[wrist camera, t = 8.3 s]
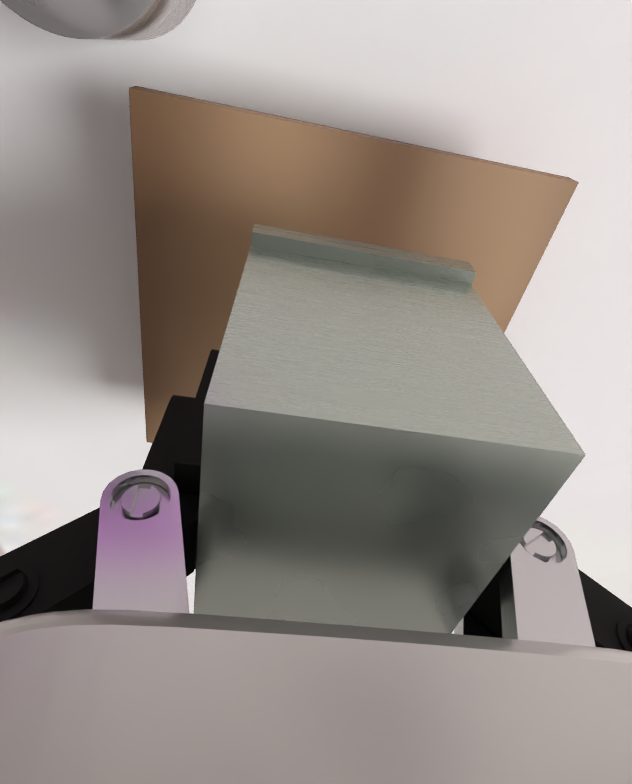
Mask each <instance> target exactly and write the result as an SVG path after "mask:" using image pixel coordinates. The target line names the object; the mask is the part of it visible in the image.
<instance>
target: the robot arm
mask: <svg viewBox="0 0 632 784" xmlns="http://www.w3.org/2000/svg"><path fill="white" fill-rule="evenodd" d="M219 351H220V350H214V349H211V351H210V354H209V357H208V360H207V363H206V366H205V369H204V373H203V376H202V379H201V382H200V385H199V388H198V391H197V394H196V397H195V398H193V397H186V396H179V395H173V396H172V397H171V399H170V401H169V403H168V406H167V408H166V411H165V413H164V416H163V418H162V421H161V423H160V426H159V428H158V431H157V434H156V436H155V439H154V441H153V444H152V446H151V449H150V451H149V454H148V456H147V459H146V461H145V464H144V466H143V469H142V470H135V471H130V472H127V473H125V474H123V475H120V476H118V477H117V478H115V479H114V480H113V481H112V482H110V483H109V484H108V486H107V487H106V488H105V490H104V491H103V494H102V497H101V501H100V508H98V509H96V510H94V511H92V512H90V513H88V514H86V515H84V516H82V517H80V518H78V519H76V520H74V521H71V522H69V523H67V524H65V525H63V526H61V527H59V528H57V529H55V530H53V531H51V532H49V533H47V534H45V535H43V536H41V537H39V538H37V539H35V540H33V541H31V542H29V543H27V544H25V545H23V546H21V547H19V548H17V549H15V550H13V551H11V552H9V553H7V554H5V555H3V556H0V784H632V608H631V607H630V606H629V605H627V604H626V603H625V602H623V601H622V600H620V599H619V598H618V597H616V596H615V595H614V594H612V593H611V592H609V591H608V590H607V589H605V588H604V587H602V586H601V585H600V584H598V583H597V582H596V581H594V580H593V579H591V578H590V577H589V576H587V575H586V574H585V573H583V572H582V571H580V570H579V569H578V567H577V562H576V558H575V553H574V550H573V548H572V545H571V543H570V541H569V540H568V538H567V537H566V536H565V534H564V533H563V532H562V531H561V530H560V529H559V528H558V527H557V526H555V525H554V524H552V523H551V522H549V521H548V520H546V519H544V518H541V517H538V519H537V520H536V521H535V523H534V524H533V525H532V527H531V528H530V529H529V531H528V532H527V533H526V535H525V536H524V537H523V539H522V540H521V541H520V543H519V544H518V545H517V547H516V548H515V549H514V551H513V552H512V553H511V555H510V556H509V557H508V559H507V560H506V561H505V562H504V564H503V565H502V566H501V568H500V569H499V570H498V572H497V573H496V574H495V576H494V577H493V578H492V580H491V581H490V582H489V584H488V585H487V586H486V588H485V589H484V590H483V592H482V593H481V594H480V596H479V597H478V598H477V600H476V601H475V602H474V604H473V605H472V606H471V608H470V609H469V610H468V612H467V613H466V614H465V616H464V617H463V618H462V620H461V621H460V622H459V623H458V625H457V626H456V627H455V631H454V634H448V633H436V632H424V631H412V630H399V629H387V628H375V627H362V626H350V625H337V624H325V623H312V622H299V621H285V620H272V619H259V618H246V617H233V616H219V615H206V614H189V604H188V593H187V581H186V577H187V576H188V575H190V574H191V573H192V572H194V569H196V558H197V538H198V517H199V497H200V477H201V456H202V436H203V416H204V402H205V399H206V395H207V392H208V389H209V385H210V382H211V378H212V375H213V372H214V368H215V365H216V362H217V358H218V355H219Z"/></svg>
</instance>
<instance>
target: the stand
mask: <svg viewBox="0 0 632 784" xmlns="http://www.w3.org/2000/svg"><path fill="white" fill-rule="evenodd" d="M129 101H130V120H131V140H132V160H133V180H134V200H135V220H136V240H137V259H138V279H139V299H140V319H141V339H142V359H143V379H144V399H145V418H146V438H147V442H151V443H153V441H154V439H155V436H156V434H157V431H158V428H159V426H160V423H161V421H162V418H163V416H164V413H165V411H166V408H167V406H168V403H169V401H170V399H171V397H172V396H173V395H179V396H186V397H193V398H195V397H196V394H197V391H198V388H199V385H200V382H201V379H202V376H203V373H204V369H205V366H206V363H207V360H208V357H209V354H210V351H211V349H214V350H220V348H221V345H222V341H223V338H224V335H225V331H226V328H227V324H228V321H229V318H230V314H231V311H232V308H233V304H234V301H235V297H236V294H237V291H238V287H239V284H240V281H241V277H242V274H243V270H244V267H245V264H246V260H247V257H248V253H249V250H250V247H251V239H252V231H253V228H254V224H255V223H257V224H263V225H268V226H274V227H279V228H285V229H290V230H296V231H301V232H306V233H312V234H317V235H323V236H328V237H334V238H339V239H345V240H350V241H356V242H361V243H367V244H372V245H377V246H383V247H388V248H394V249H399V250H405V251H410V252H416V253H421V254H427V255H432V256H437V257H443V258H448V259H454V260H459V261H465V262H469V263H470V264H471V266H472V267H473V268H474V270H475V271H476V272H477V273H476V275H475V278H474V280H473V282H472V286H473V288H474V289H475V291H476V292H477V294H478V295H479V297H480V298H481V300H482V301H483V303H484V304H485V306H486V307H487V309H488V310H489V312H490V313H491V315H492V316H493V318H494V319H495V321H496V322H497V324H498V325H499V327H500V328H501V330H502V331H503V333H504V332H505V330H506V328H507V326H508V324H509V322H510V320H511V318H512V316H513V314H514V312H515V310H516V308H517V306H518V304H519V302H520V300H521V298H522V296H523V294H524V292H525V290H526V288H527V286H528V284H529V282H530V280H531V278H532V276H533V274H534V272H535V269H536V267H537V265H538V263H539V261H540V259H541V257H542V255H543V253H544V251H545V249H546V247H547V245H548V243H549V241H550V239H551V237H552V235H553V233H554V231H555V229H556V227H557V225H558V223H559V221H560V219H561V217H562V215H563V213H564V211H565V209H566V207H567V205H568V203H569V201H570V199H571V197H572V195H573V193H574V191H575V189H576V187H577V184H578V182H576V181H575V180H573V179H571V178H569V177H564V176H559V175H555V174H550V173H545V172H540V171H536V170H531V169H526V168H521V167H517V166H512V165H507V164H503V163H498V162H493V161H488V160H484V159H479V158H474V157H469V156H465V155H460V154H455V153H451V152H446V151H441V150H436V149H432V148H427V147H422V146H418V145H413V144H408V143H403V142H399V141H394V140H389V139H384V138H380V137H375V136H370V135H366V134H361V133H356V132H351V131H347V130H342V129H337V128H333V127H328V126H323V125H318V124H314V123H309V122H304V121H299V120H295V119H290V118H285V117H281V116H276V115H271V114H266V113H262V112H257V111H252V110H248V109H243V108H238V107H233V106H229V105H224V104H219V103H214V102H210V101H205V100H200V99H196V98H191V97H186V96H181V95H177V94H172V93H167V92H162V91H158V90H153V89H148V88H144V87H139V86H134V87H130V88H129Z"/></svg>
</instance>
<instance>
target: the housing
mask: <svg viewBox="0 0 632 784" xmlns="http://www.w3.org/2000/svg"><path fill="white" fill-rule="evenodd" d="M476 273H477V272H476V271H475V270H474V268H473V267H472V266H471V264H470V263H469V262H465V261H459V260H454V259H448V258H443V257H437V256H432V255H427V254H421V253H416V252H410V251H405V250H399V249H394V248H388V247H383V246H377V245H372V244H367V243H361V242H356V241H350V240H345V239H339V238H334V237H328V236H323V235H317V234H312V233H306V232H301V231H296V230H290V229H285V228H279V227H274V226H268V225H263V224H257V223H255V224H254V228H253V231H252V239H251V247H250V250H249V253H248V257H247V260H246V264H245V267H244V270H243V274H242V277H241V281H240V284H239V287H238V291H237V294H236V297H235V301H234V304H233V308H232V311H231V314H230V318H229V321H228V324H227V328H226V331H225V335H224V338H223V341H222V345H221V348H220V351H219V355H218V358H217V362H216V365H215V368H214V372H213V375H212V378H211V382H210V385H209V389H208V392H207V395H206V399H205V402H204V416H203V436H202V456H201V477H200V497H199V517H198V538H197V558H196V578H195V598H194V614H206V615H219V616H233V617H246V618H259V619H272V620H285V621H299V622H312V623H325V624H337V625H350V626H362V627H375V628H387V629H399V630H412V631H424V632H436V633H448V634H451V633H452V631H453V630H454V629H455V627H456V626H457V625H458V623H459V622H460V621H461V620H462V618H463V617H464V616H465V614H466V613H467V612H468V610H469V609H470V608H471V606H472V605H473V604H474V602H475V601H476V600H477V598H478V597H479V596H480V594H481V593H482V592H483V590H484V589H485V588H486V586H487V585H488V584H489V582H490V581H491V580H492V578H493V577H494V576H495V574H496V573H497V572H498V570H499V569H500V568H501V566H502V565H503V564H504V562H505V561H506V560H507V559H508V557H509V556H510V555H511V553H512V552H513V551H514V549H515V548H516V547H517V545H518V544H519V543H520V541H521V540H522V539H523V537H524V536H525V535H526V533H527V532H528V531H529V529H530V528H531V527H532V525H533V524H534V523H535V521H536V520H537V519H538V517H539V516H540V515H541V513H542V512H543V511H544V509H545V508H546V507H547V505H548V504H549V503H550V501H551V500H552V499H553V498H554V496H555V495H556V494H557V492H558V491H559V490H560V488H561V487H562V486H563V484H564V483H565V482H566V480H567V479H568V478H569V476H570V475H571V474H572V472H573V471H574V470H575V468H576V467H577V466H578V464H579V463H580V462H581V460H582V459H583V458H584V456H585V453H584V452H583V450H582V449H581V447H580V446H579V444H578V443H577V441H576V440H575V438H574V437H573V435H572V434H571V432H570V431H569V429H568V428H567V426H566V425H565V423H564V422H563V420H562V419H561V417H560V416H559V414H558V413H557V411H556V410H555V408H554V407H553V405H552V404H551V402H550V401H549V400H548V398H547V397H546V395H545V394H544V392H543V391H542V389H541V388H540V386H539V385H538V383H537V382H536V380H535V379H534V377H533V376H532V374H531V373H530V371H529V370H528V368H527V367H526V365H525V364H524V362H523V361H522V359H521V358H520V356H519V355H518V353H517V352H516V350H515V349H514V347H513V346H512V344H511V343H510V342H509V340H508V339H507V337H506V336H505V334H504V333H503V331H502V330H501V328H500V327H499V325H498V324H497V322H496V321H495V319H494V318H493V316H492V315H491V313H490V312H489V310H488V309H487V307H486V306H485V304H484V303H483V301H482V300H481V298H480V297H479V295H478V294H477V292H476V291H475V289H474V288H473V286H472V282H473V280H474V278H475V275H476Z"/></svg>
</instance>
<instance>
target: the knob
mask: <svg viewBox="0 0 632 784" xmlns="http://www.w3.org/2000/svg"><path fill="white" fill-rule="evenodd" d="M1 1H2V2H3V3H4V4H5V5H6V6H7V7H9V8H10V9H11V10H13V11H14V12H15V13H17V14H18V15H19V16H21V17H22V18H24V19H25V20H27V21H29V22H30V23H32V24H34V25H35V26H37V27H40V28H42V29H44V30H46V31H49V32H51V33H54V34H58V35H61V36H64V37H70V38H77V39H106V40H148V39H154V38H157V37H159V36H162V35H164V34H166V33H168V32H170V31H171V30H173V29H174V28H175V27H176V26H177V25H179V24H180V23H181V22H182V21H183V19H184V18H185V17H186V16H187V15H188V13H189V11H190V10H191V8H192V7H193V5H194V3H195V1H196V0H1Z"/></svg>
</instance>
